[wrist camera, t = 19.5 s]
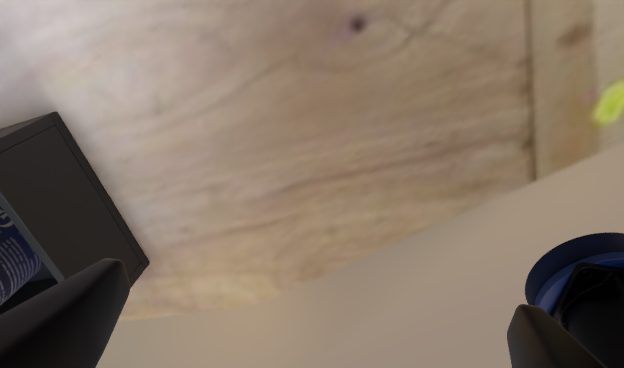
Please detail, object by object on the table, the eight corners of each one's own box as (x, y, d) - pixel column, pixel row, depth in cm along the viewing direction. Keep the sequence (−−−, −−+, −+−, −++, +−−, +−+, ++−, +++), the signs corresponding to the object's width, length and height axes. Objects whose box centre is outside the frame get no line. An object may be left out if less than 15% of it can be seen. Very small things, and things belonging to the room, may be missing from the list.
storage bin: (150, 263, 28) (101, 327, 23) (27, 284, 31) (-39, 345, 26) (56, 111, 23) (-30, 152, 18) (-78, 153, 26) (-182, 198, 21)
